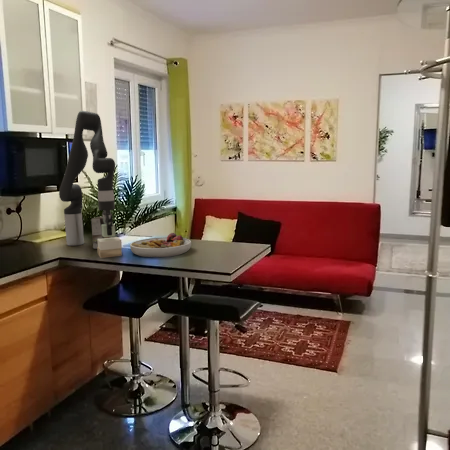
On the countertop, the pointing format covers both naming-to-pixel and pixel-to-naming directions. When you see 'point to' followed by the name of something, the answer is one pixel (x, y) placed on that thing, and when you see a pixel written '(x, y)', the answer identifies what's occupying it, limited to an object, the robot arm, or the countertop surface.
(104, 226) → the sage cube
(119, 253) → the tower base
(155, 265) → the countertop surface
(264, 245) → the countertop surface
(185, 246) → the bowl
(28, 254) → the countertop surface
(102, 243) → the tower top
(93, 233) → the coffee box
